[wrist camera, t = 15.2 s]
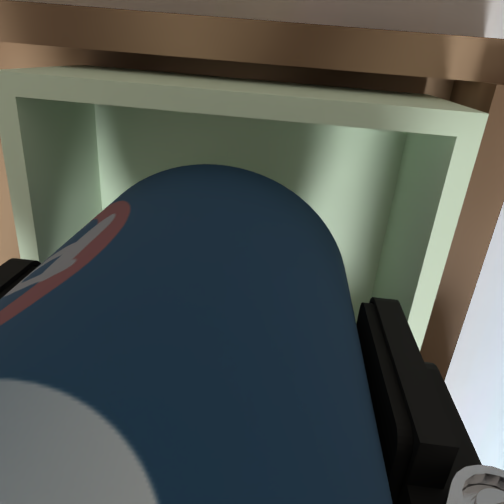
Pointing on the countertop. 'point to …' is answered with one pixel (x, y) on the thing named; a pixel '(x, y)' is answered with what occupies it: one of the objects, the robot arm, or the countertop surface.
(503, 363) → the countertop surface
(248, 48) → the bay
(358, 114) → the crate
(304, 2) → the countertop surface
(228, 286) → the soda can
